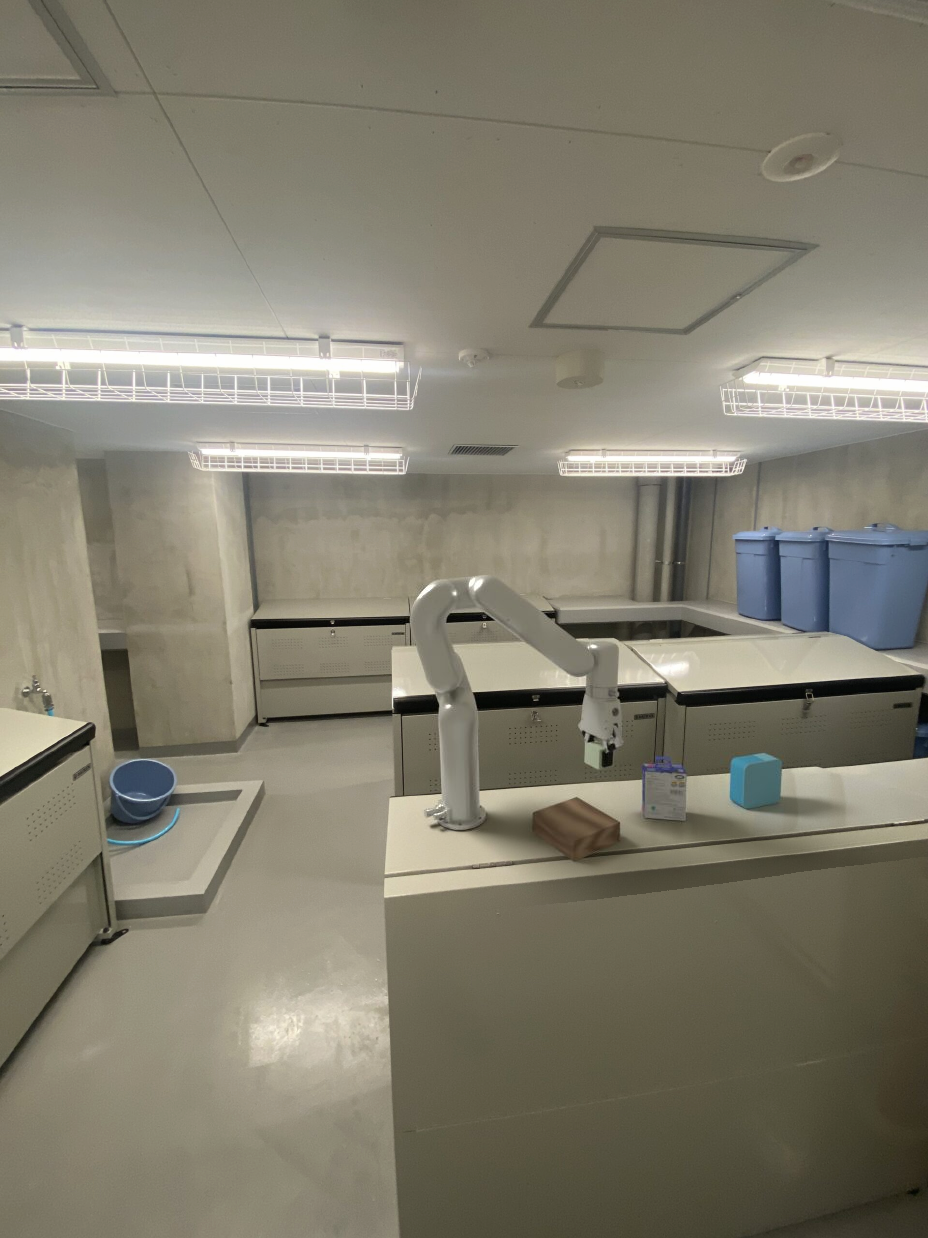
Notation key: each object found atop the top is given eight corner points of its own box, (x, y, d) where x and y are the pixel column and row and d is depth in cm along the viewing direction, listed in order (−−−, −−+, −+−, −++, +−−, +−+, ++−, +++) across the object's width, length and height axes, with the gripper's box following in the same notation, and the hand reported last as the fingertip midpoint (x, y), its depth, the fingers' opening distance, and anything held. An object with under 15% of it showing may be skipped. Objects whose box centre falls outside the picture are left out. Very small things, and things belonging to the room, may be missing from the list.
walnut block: (573, 863, 101) (573, 841, 100) (532, 832, 113) (532, 812, 112) (620, 842, 108) (620, 822, 107) (576, 815, 120) (576, 796, 119)
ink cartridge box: (681, 810, 120) (682, 755, 119) (687, 822, 115) (688, 764, 113) (640, 807, 122) (641, 753, 121) (644, 818, 117) (645, 762, 115)
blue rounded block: (765, 795, 127) (767, 752, 125) (780, 803, 123) (783, 758, 121) (728, 802, 124) (730, 758, 122) (743, 810, 119) (745, 764, 118)
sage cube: (598, 769, 116) (599, 750, 115) (584, 762, 120) (585, 743, 120) (613, 765, 118) (614, 746, 118) (599, 758, 123) (599, 740, 122)
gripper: (639, 698, 112) (636, 772, 114) (588, 682, 126) (586, 748, 128) (616, 702, 108) (613, 778, 110) (566, 685, 123) (565, 753, 125)
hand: (598, 761), depth 119 cm, fingers closed on sage cube, 5 cm apart
